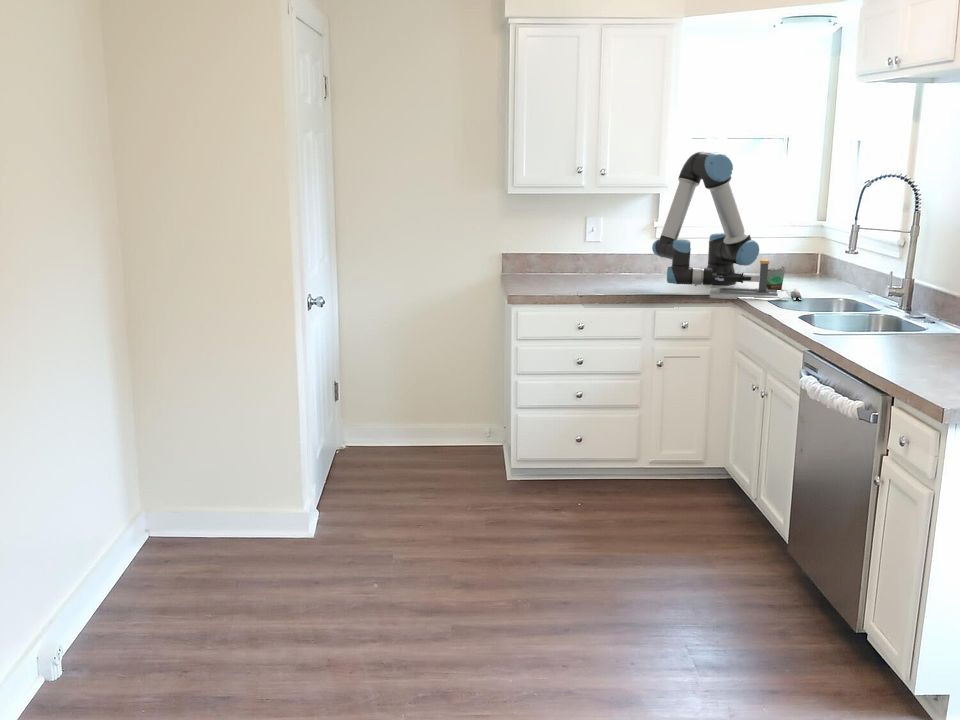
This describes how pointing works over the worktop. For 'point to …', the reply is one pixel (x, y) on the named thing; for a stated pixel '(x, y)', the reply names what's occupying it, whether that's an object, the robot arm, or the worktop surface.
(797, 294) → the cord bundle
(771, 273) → the food container
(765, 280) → the lever
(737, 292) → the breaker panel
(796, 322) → the worktop surface
